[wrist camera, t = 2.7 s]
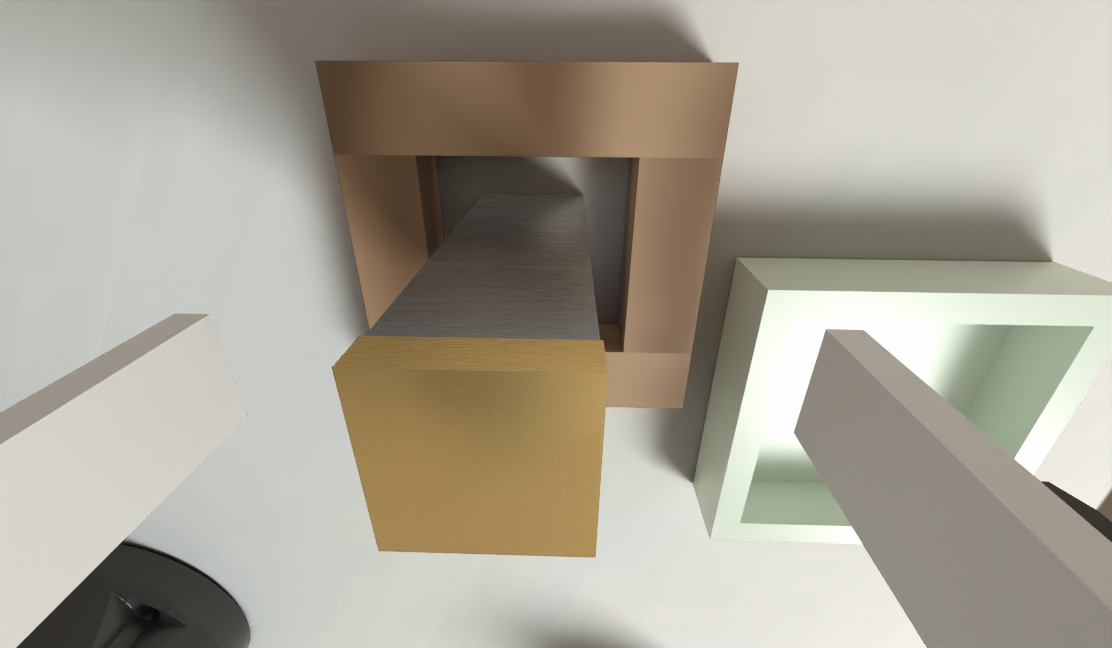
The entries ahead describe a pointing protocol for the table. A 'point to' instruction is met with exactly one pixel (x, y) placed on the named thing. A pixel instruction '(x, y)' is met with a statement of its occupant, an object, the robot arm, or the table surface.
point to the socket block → (543, 131)
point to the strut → (486, 390)
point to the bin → (914, 339)
